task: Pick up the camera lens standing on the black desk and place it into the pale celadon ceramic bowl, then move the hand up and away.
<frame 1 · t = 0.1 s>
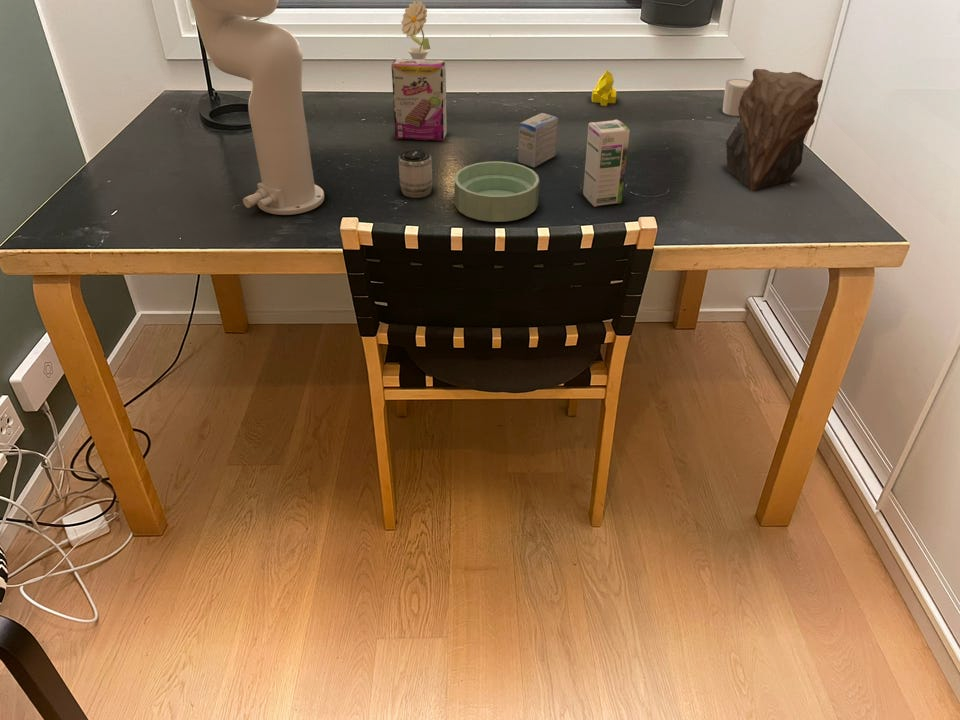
owl: (755, 178, 152), on the table
flower in vase: (421, 110, 183), on the table
syrup box: (601, 200, 144), on the table
candy bar box: (421, 137, 169), on the table
white cylinder: (734, 112, 182), on the table
medicine box: (536, 160, 159), on the table
yellow crystal cluster: (603, 101, 189), on the table
camera lens: (416, 192, 146), on the table
bowl: (496, 205, 141), on the table
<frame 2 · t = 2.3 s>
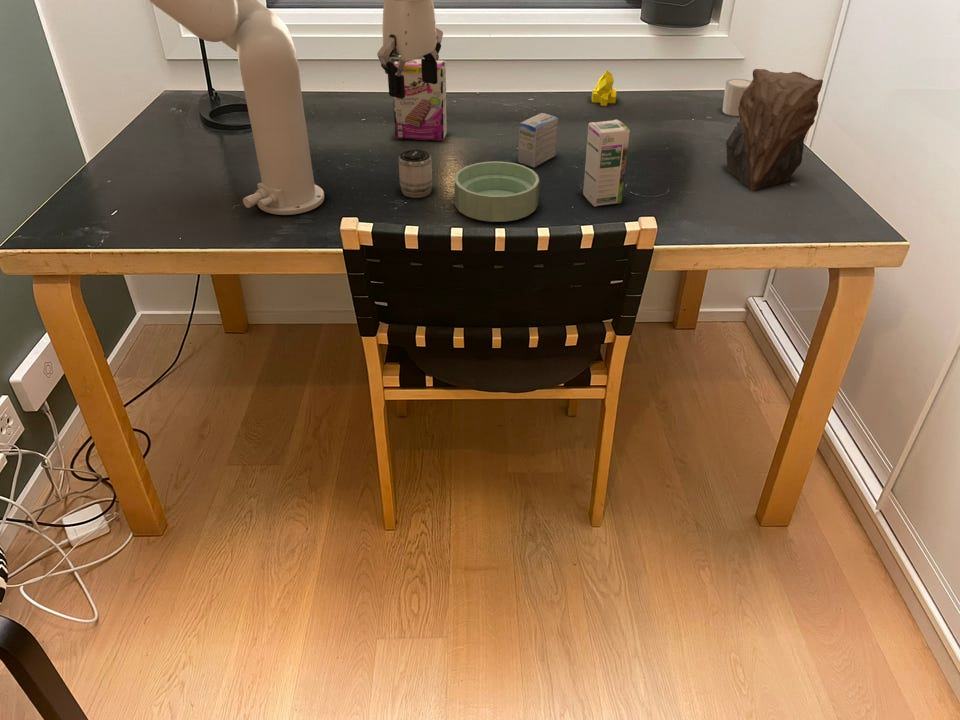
hand: (413, 89, 136), 19 cm above the table, tool pointing down, fingers open, 9 cm apart
nothing on the table moved.
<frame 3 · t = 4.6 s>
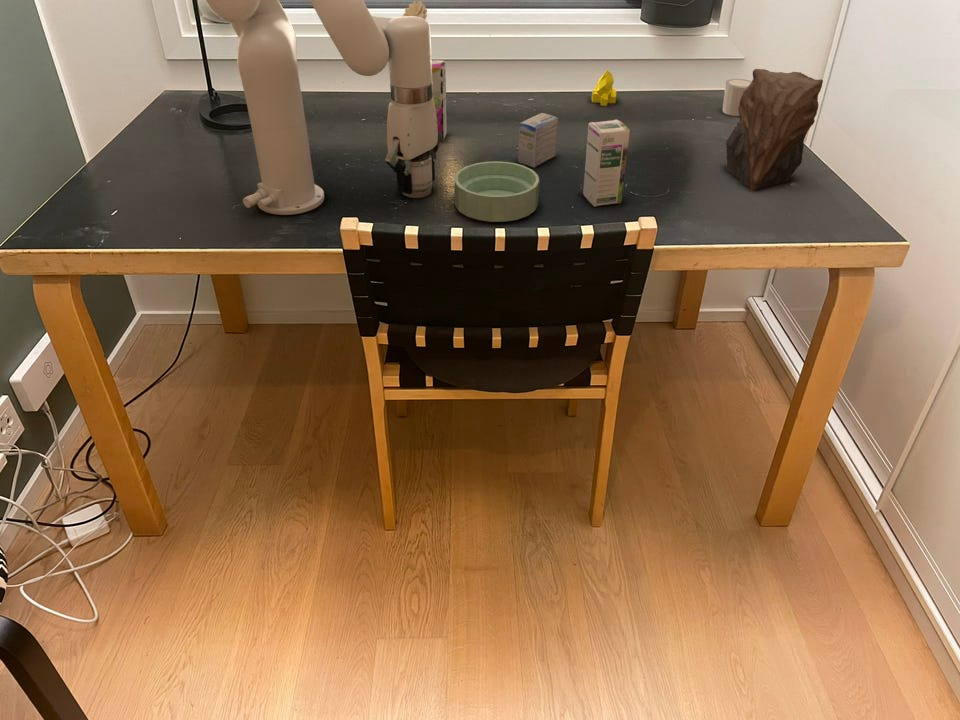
hand: (416, 185, 145), 1 cm above the table, tool pointing down, fingers closed on camera lens, 6 cm apart
camera lens: (416, 192, 146), on the table, touching gripper
everything else where it was.
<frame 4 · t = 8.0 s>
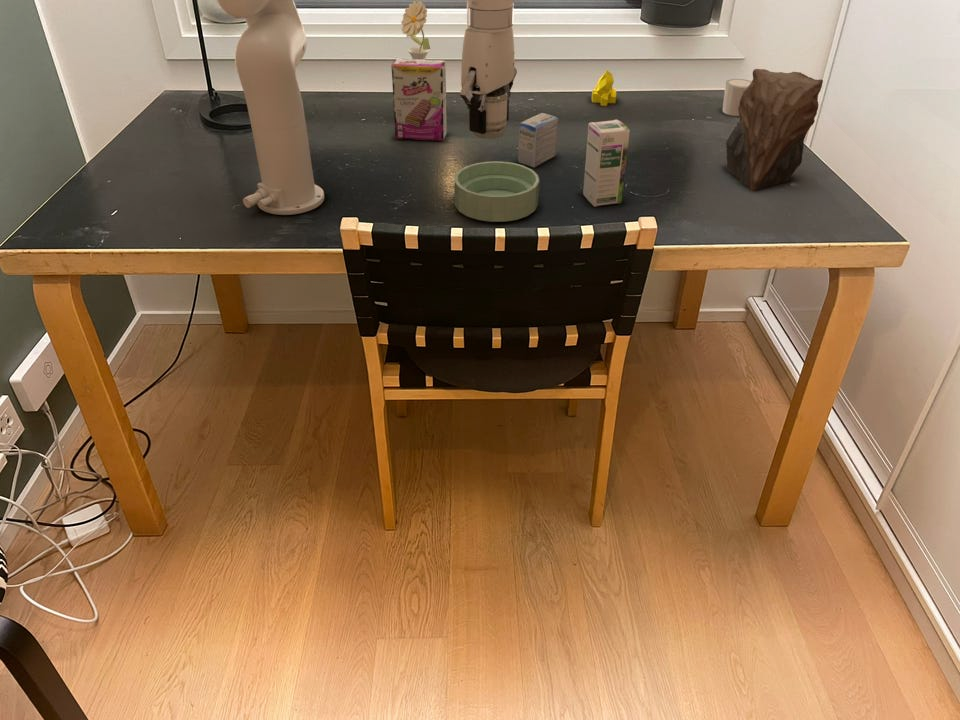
hand: (489, 125, 133), 15 cm above the table, tool pointing down, fingers closed on camera lens, 6 cm apart
camera lens: (489, 134, 134), point 14 cm above the table, touching gripper
everything else where it was.
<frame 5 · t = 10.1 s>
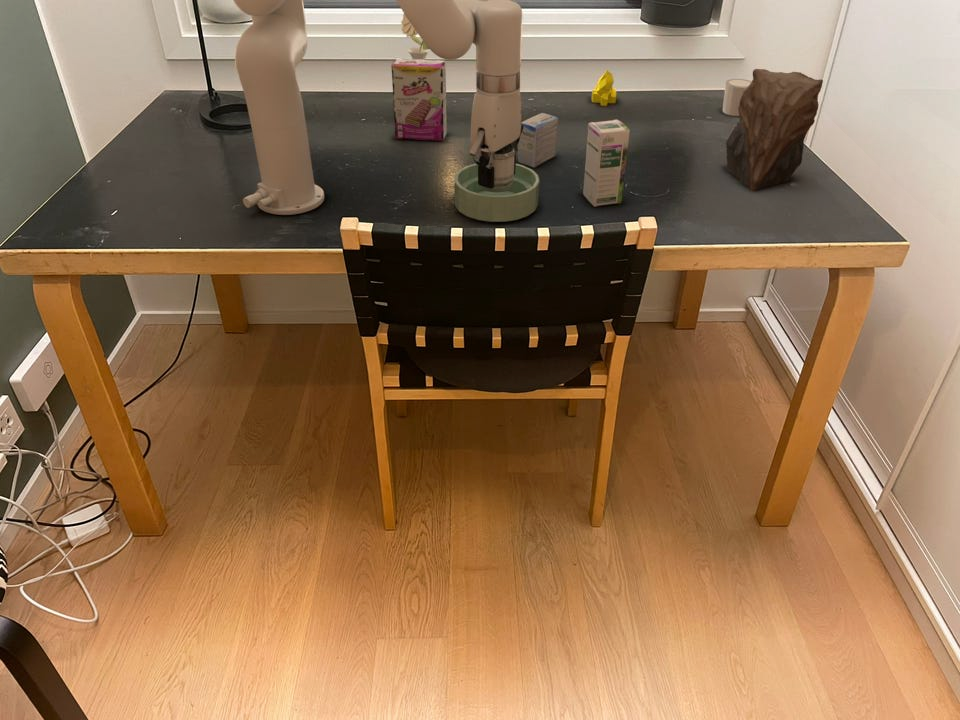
hand: (496, 179, 138), 5 cm above the table, tool pointing down, fingers closed on camera lens, 6 cm apart
camera lens: (496, 187, 139), point 4 cm above the table, touching gripper
everything else where it was.
when the fingers open (2 cm above the table, at t = 11.5 s): camera lens stays where it is, resting on bowl.
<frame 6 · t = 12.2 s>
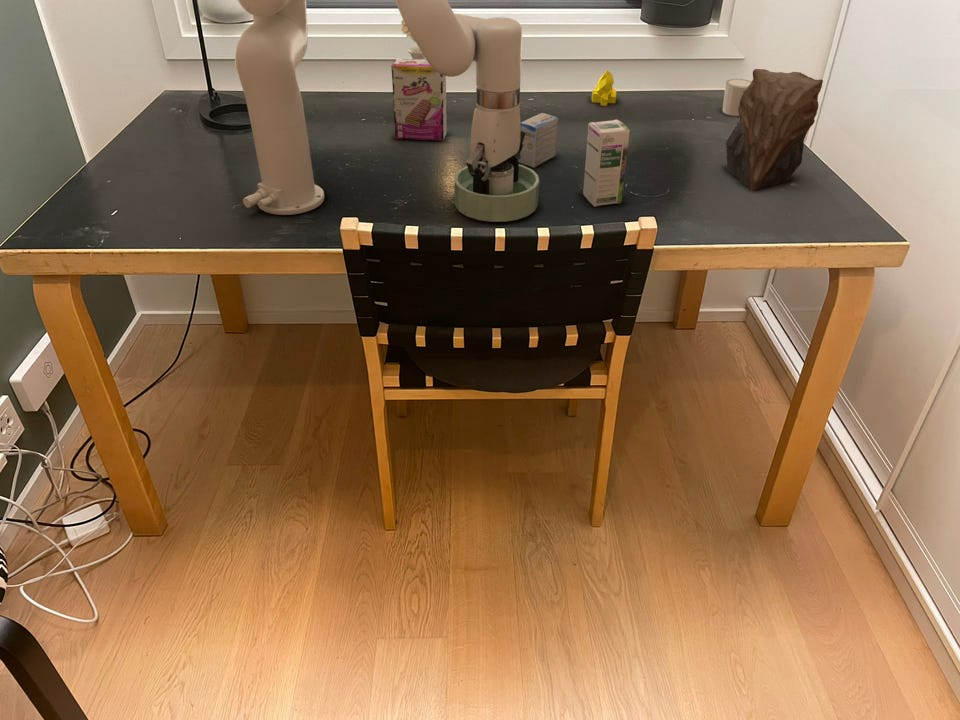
hand: (495, 189, 139), 3 cm above the table, tool pointing down, fingers open, 9 cm apart
camera lens: (495, 203, 141), resting on bowl
everything else where it was.
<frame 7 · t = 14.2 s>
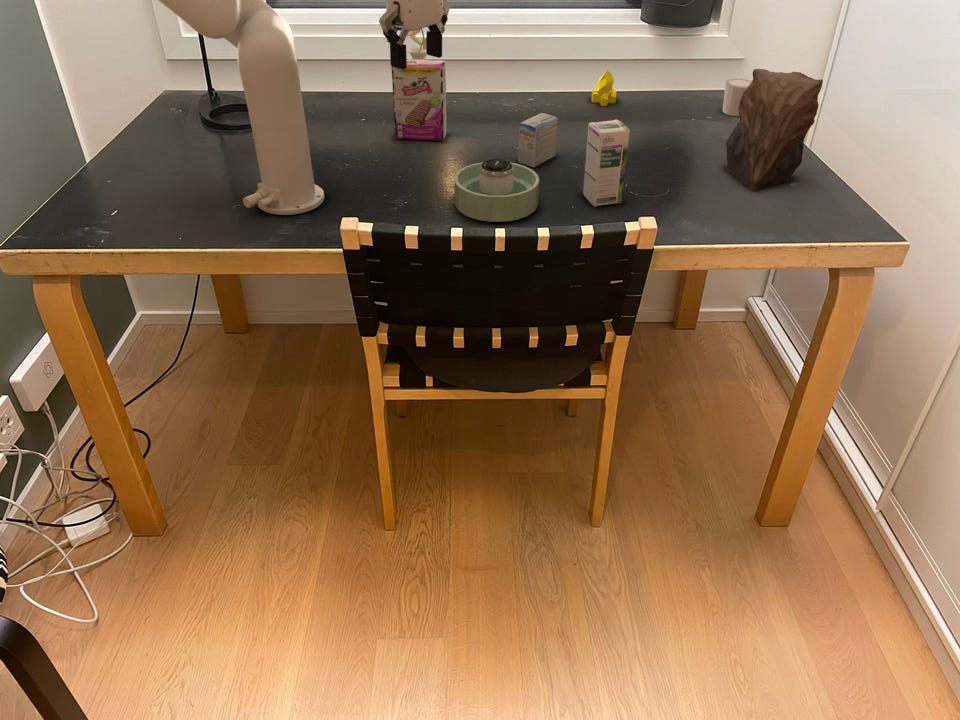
hand: (416, 61, 132), 24 cm above the table, tool pointing down, fingers open, 9 cm apart
nothing on the table moved.
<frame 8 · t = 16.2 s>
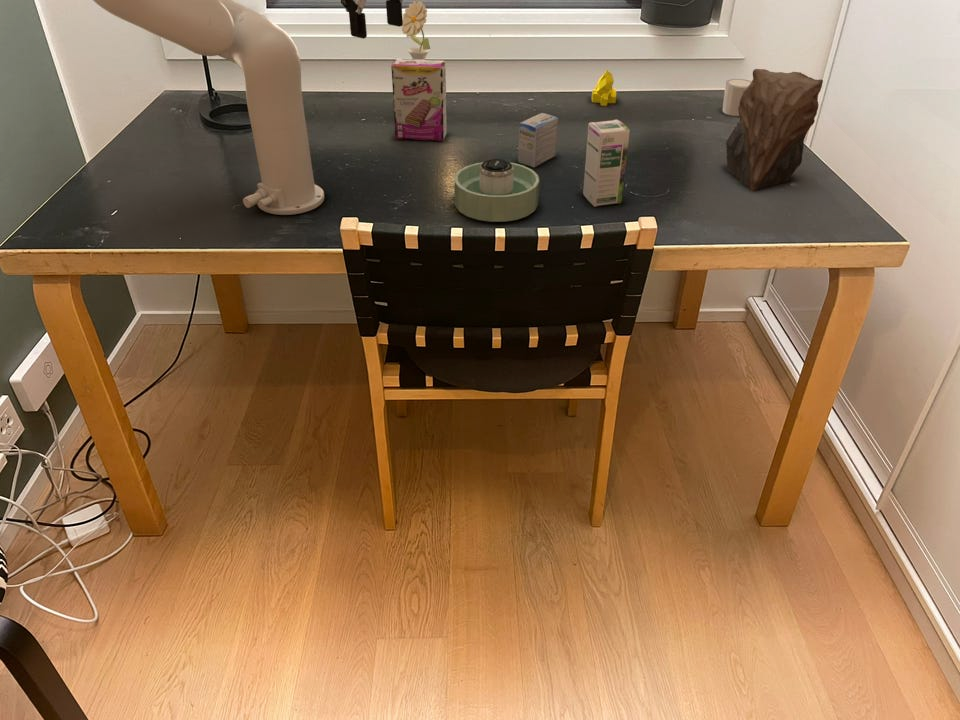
hand: (377, 30, 133), 28 cm above the table, tool pointing down, fingers open, 9 cm apart
nothing on the table moved.
at the end: camera lens inside the target area in the bowl (0.0 cm from its centre), point 0.4 cm above the bowl's base; the gripper is holding nothing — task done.
